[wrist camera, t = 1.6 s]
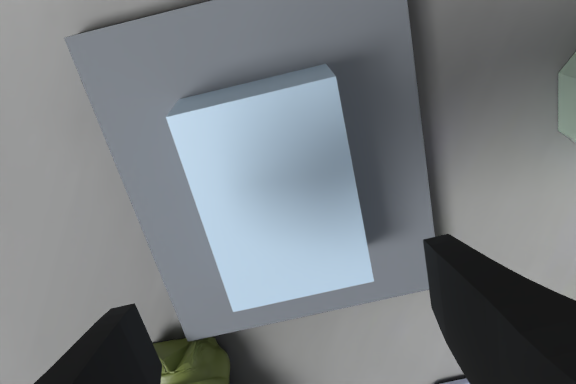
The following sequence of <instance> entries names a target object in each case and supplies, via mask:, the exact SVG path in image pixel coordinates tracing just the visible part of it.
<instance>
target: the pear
mask: <svg viewBox="0 0 576 384" xmlns="http://www.w3.org/2000/svg"><path fill="white" fill-rule="evenodd" d="M153 346H154V348H155V350H156V352H157V355H158V357H159V359H160V361H161V363H162V373H161V384H230V383H229V375H230V360H229V357H228V355H227V353H226V352H225V351H224V350H223V349H222V348H221V347H220V346H219V345H218V344H217V342H216V339H215V338H214V337H208V338H203V339H198V340H194V341H189V342H188V341H187V339H186V338H184V339H176V340H170V341H164V342H158V343H153Z"/></svg>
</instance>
